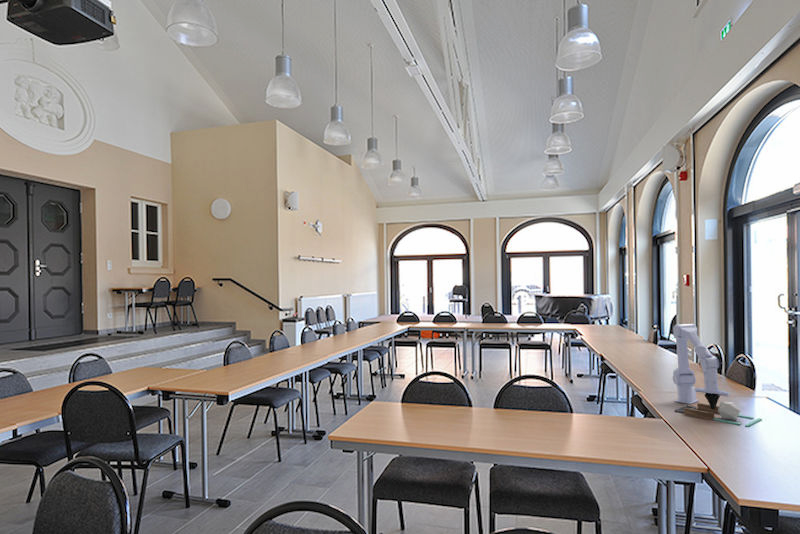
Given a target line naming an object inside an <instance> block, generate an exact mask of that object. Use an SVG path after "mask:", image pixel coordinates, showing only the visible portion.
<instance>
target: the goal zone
mask: <svg viewBox="0 0 800 534" xmlns="http://www.w3.org/2000/svg"><path fill="white" fill-rule="evenodd" d="M738 417H739V418H744V419H750V420H752V421H750V422H749V423H746V424H745V426H744V427H747V428H749V427H751V426H753V425H754V424H757V423H759V422H761V421H762V419H763V418H756V419H754V417H753V416H749V415H743V414H739V415H738ZM738 417H737V418H738ZM753 419H754V420H753ZM712 421H716V422H721V423H726V424H732V425H737V426H741V425H742V423H741V422H737V421H733V420H732V421H731V420H728V419H723V418H722V419H721V418H716V417H715V418H714V419H713V420H712Z"/></svg>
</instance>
